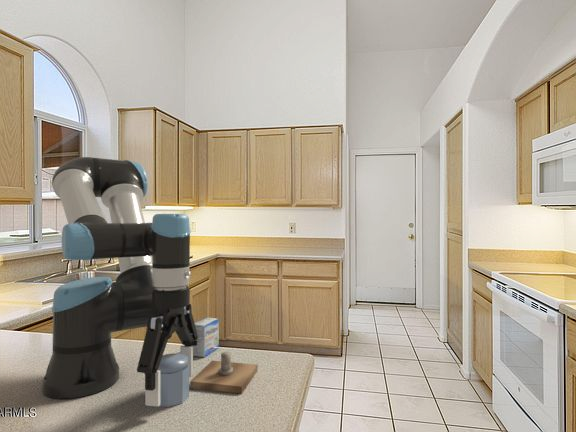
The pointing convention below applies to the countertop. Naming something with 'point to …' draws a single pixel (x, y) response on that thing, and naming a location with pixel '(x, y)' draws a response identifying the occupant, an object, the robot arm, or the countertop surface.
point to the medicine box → (206, 337)
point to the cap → (173, 379)
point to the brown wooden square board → (224, 375)
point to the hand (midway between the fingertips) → (171, 389)
